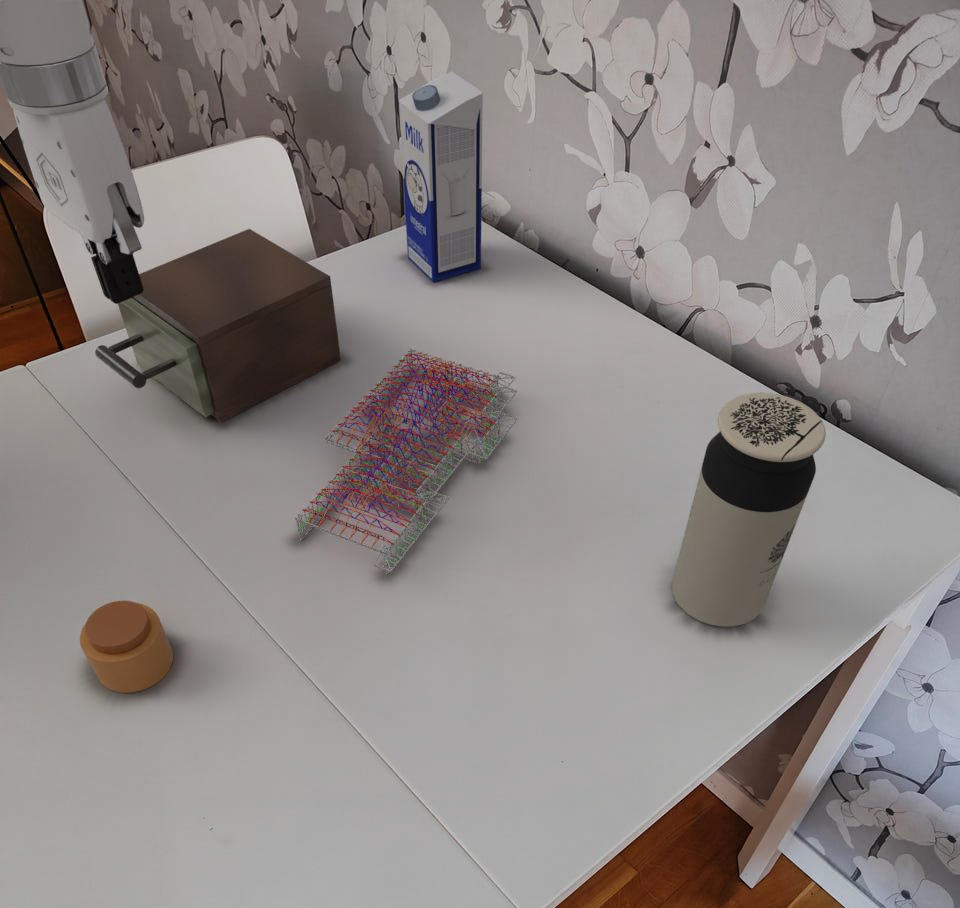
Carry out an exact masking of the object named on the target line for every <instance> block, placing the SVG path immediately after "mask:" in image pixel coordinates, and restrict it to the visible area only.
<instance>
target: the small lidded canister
mask: <svg viewBox="0 0 960 908" xmlns="http://www.w3.org/2000/svg"><path fill="white" fill-rule="evenodd" d="M79 644H80V647H81V650H82V651H83V654H84V655H85V658H86V659H87V661H88V663H89V665H90V667H91V668H92V670H93V672H94V674H95V676H96V678H97V680H98V681H99V683H100V684H101V685H102V686H103V687H105V688H106V689H107V690H110V691H111V692H116V693H121V694H130V693H136V692H141V691H144V690H147V689H149V688H151V687H153V686H155V685H157V684H158V683H159V682H160V681H162V680H163V678H165V676H166V675H167V674H168V673H169V672H170V670H171V667H172V664H173V661H174V652H173V651H174V650H173V648H172V645H171V644H170V641H169V638H168V636H167V634H166V632H165V629H164V626H163V624H162V621H161V620H160V617H159V614H158V613H157V612H156V611H155V610H154V609H153V608H152V607H149V606H148V605H146V604H143V603H139V602H134V601H132V600H115V601H111V602H108V603H105V604H103V605H102V606H99V607H98V608H97V609H95V610H94V611H93V612H92V613H91V614H90V616H89V617H88V619H87V620H86V621H85V623H84V624H83V627H82V628H81V631H80V635H79Z"/></svg>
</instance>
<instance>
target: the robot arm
mask: <svg viewBox="0 0 960 908" xmlns="http://www.w3.org/2000/svg"><path fill="white" fill-rule="evenodd" d="M85 8H86V7H85V4H84V1H83V0H0V83H1V85H2V88H3V91H4V94H5V96H6V100H7V102H8V104H9V106H10V107H11V108H12V110H13V115H14V119H15V122H16V126H17V130H18V133H19V136H20V140H21V144H22V146H23V150H24V152H25V155H26V159H27V162H28V165H29V169H30V171H31V174H32V177H33V180H34V183H35V186H36V189H37V192H38V195H39V197H40V201H41V203H42V205H43V207H44V209H46V211H48V212H49V213H50V214H51V215H52V216H53V217H55V218H56V219H58V220H59V221H60V222H62V223H63V224H64V225H66V226H67V227H68V228H70V229H71V230H73V231H75V232H76V233H77V234H79V235H80V236H81V239H82V242H83V244H84V246H85V248H86V250H87V252H88V253H89V254H90V255H91V257H90V259H91V262H92V266H93V269H94V271H95V274H96V277H97V280H98V282H99V285H100V288H101V290H102V293H103V296H104V297H105V298H106V299H108V300H109V301H111V302H112V303H113V304H115V305H118V303H121V302H123V301H125V300H127V299H130V298H132V297H134V296H137V295H139V294H141V293H142V292H143V290H144V289H143V285H142V282H141V279H140V276H139V274H140V272H139V269H138V267H137V263H136V260H135V256H134V253H136V252H138V251H140V250H142V244H141V241H140V239H139V236H138V233H137V232H136V229H135V228H137V229H138V228H139V229H140V228H142V227H143V226H144V224H145V215H144V209H143V208H144V207H143V204H142V200H141V197H140V193H139V189H138V186H137V183H136V180H135V177H134V173H133V171H132V168H131V165H130V162H129V158H128V156H127V153H126V150H125V147H124V144H123V142H122V139H121V136H120V134H119V131H118V129H117V126H116V123H115V121H114V118H113V115H112V113H111V111H110V108H109V106H108V104H107V101H106V99H105V98H106V97H107V96H108V94H109V87H108V84H107V81H106V76H105V73H104V70H103V66H102V62H101V60H100V59H101V58H100V56H99V53H98V50H97V46H96V42H95V38H94V36H93V32H92V28H91V25H90V22H89V19H88V15H87V12H86V9H85Z"/></svg>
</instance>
